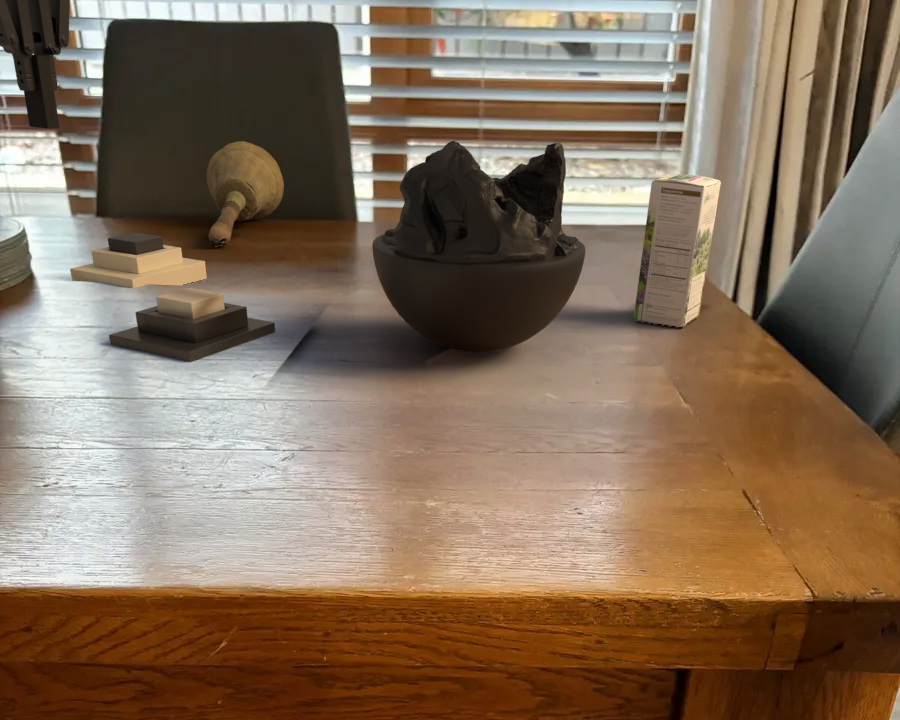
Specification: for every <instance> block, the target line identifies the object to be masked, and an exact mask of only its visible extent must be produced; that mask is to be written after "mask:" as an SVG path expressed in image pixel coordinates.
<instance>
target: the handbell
mask: <svg viewBox="0 0 900 720" xmlns="http://www.w3.org/2000/svg"><path fill="white" fill-rule="evenodd" d="M206 183H207V184H206V185H207V188H208V191H209V195H210V196H211V197H212V199H213V201H214V204H215V206H216V208H217V210H218V211H219V212H220V216H219V217H218V218H217V220H216V221H215V223H213V224H212V225H211V227H210V230H209V232H208V240H209V243H210V245H212V246H213V247H214V246H220V245H226V246H227V245H228V243H229V242H230V240H231V239H232V232H233V227H234V223H235V222H236V221H237V222H245V221H256V220H261V219H265V218H267V217H268V216H270V215H271V214H272V213H273V212H274V211H275V210H276V209H277V208H278V207H279V205H280V203H281V202H282V199H283V196H284V190H285V185H284V184H285V182H284V177H283V175H282V172H281V168H280V166H279V164H278V163H277V161H276V159H275V158H274V157H273V156H272V155H271V154H270V153H269V152H268V151H266V150H265V149H264V148H263V147H261V146H258V145H256V144H253V143H252V142H248V141H243V140H241V141H240V140H239V141H234V142H230V143H227V145H224V146H223V147H222V148H220V149H219V150H218V151H216V152H215V153H214V154H213V155H212V156H211V158H209V162H208V165H207V169H206Z"/></svg>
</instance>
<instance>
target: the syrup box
mask: <svg viewBox="0 0 900 720" xmlns="http://www.w3.org/2000/svg"><path fill="white" fill-rule="evenodd" d="M721 185H722V181H720V179H715V178H712V177H708V176H704V175H703V176H702V175H698V174H697V175H695V174H685V173H684V174H682V173H681V174H670V175H665V176H663V177H660V178H656V179H654V180H652V181H651V185H650V193H649V199H648V200H649V201H648V208H647V215H646V220H645V221H646V223H645V228H644V229H645V230H644V237H643V245H642V251H641V261H640V268H639V274H638V283H637V290H636V298H635V305H634V313H633V320H634V321H635V322H638V321H642V322H641V323H644V322H649V323H648V324H651V323H653V324H652V325H657V324H662V325H661V326H664V325H668V326H667V327H672V326H675V327H674V328H679V327H683V328H685V327H686V326H687V325H689V324H690V323H692V322H693V321H695V320H696V319H697V318H699V317H700V313H701V306H702V300H703V294H704V289H705V283H706V282H705V281H706V277H707V276H706V275H707V270H708V263H709V258H710V252H711V246H712V240H713V234H714V229H715V227H714V226H715V222H716V215H717V210H718V209H717V208H718V202H719V198H720V197H719V196H720V191H721ZM695 318H696V319H695ZM694 319H695V320H694ZM692 320H693V321H692ZM691 321H692V322H691ZM688 323H689V324H688ZM684 326H685V327H684Z"/></svg>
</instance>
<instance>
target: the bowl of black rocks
mask: <svg viewBox="0 0 900 720" xmlns="http://www.w3.org/2000/svg"><path fill="white" fill-rule="evenodd" d="M566 163H567V162H566V156H565V150H564V145H563V144H562V143H561V142H554V143H550V144H546V147H545V150H544V153H542V154H539V155H537V156H534V157H530V158H529V160H528V162H527V163H526V164H525V163H523V162H521V163H519V164H518V165H517V166H516V167H514V168H513V169H512V170H510V172H509V173H508V174H506V175H504V177H501V178H499V177H492V176H489V174H487V173H486V172H485V171H484V170H482V169H481V165H480V164H479V163H478V162H477V160H476V159H475V157H474V155H473V154H472V152H470V150H469V149H468V148H466V147H465V146H464V145H462V144H461V143H460V142H458V141H456V140H450V141H448V142H447V143H446V144H445V145H444V146H443V147H442V148H441V149H438V150H436V151H434V152H431V153H430V154H429V155H427V156H426V157H425V160H424V162H420V163H418V164H416V165H414V166H412V167H411V168H409V169H408V170H407V171H406V172H405V174H404V176H403V177H402V179H401V183H400V185H399V191H400V193H401V195H402V197H403V206H402V208H401V212H400V214H399V220H398V223H397V224H396V226H395V228H389V229H387V230H385V231H384V233H383V234H380V235H378V236H377V237H375V238H374V239H373V242H372V246H371V249H372V257H373V263H374V267H375V271H376V275H377V277H378V281H379V283H380V285H381V287H382V290H383V292H384V293H385V296H386V298H387V300H388V301H389V303H390V304H391V306H392V307H393V308H394V310H395V312H396V313H397V314H398V316H400V318H401V319H402V320H403V321H404V322H405V323H406V324H407V325H408V326H410V328H412V329H413V331H415V332H417V333H418V334H419V335H421V336H423V337H424V338H425V339H427V340H429V341H431V342H433V343H434V344H437V345H439V346H442V347H445V348H447V349H451V350H454V351H459V352H464V353H492V352H497V351H502V350H506V349H509V348H513V347H515V346H517V345H520V344H522V343H523V342H526V341H528V340H529V339H531V338H533V337H534V336H536V335H538V333H540V332H541V331H542V330H544V329H545V328H547V326H548V325H550V323H552V321H554V320H555V318H556V317H557V316H559V314H560V313H561V311H562V310H563V309H564V308H565V306H566V305H567V303H568V302H569V300H570V297H571V296H572V295H573V292H574V291H575V288H576V286H577V284H578V282H579V279H580V277H581V274H582V270H583V267H584V263H585V257H586V246H585V245H584V243H583V242H582V241H580V240H579V238H577V237H576V236H571V235H567V234H565V232H564V231H563V228H562V224H563V222H562V221H563V219H562V218H563V217H562V212H563V203H564V195H565V194H564V193H565V181H566V180H565V178H566V176H567V164H566Z"/></svg>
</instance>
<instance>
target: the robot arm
mask: <svg viewBox="0 0 900 720" xmlns="http://www.w3.org/2000/svg"><path fill="white" fill-rule="evenodd" d="M70 8H71V0H0V47H1V48H2V50H3V51H4V52H5V53H7V54H11V55H12V60H13V64H14V70H15V76H16V77H15V78H16V83H17V87H18V88H19V90H20V91H23V95H24V102H25V108H26V113H27V119H28V126H29V128H38V129H50V130H51V129H60V121H59V115H58V108H57V102H56V94H55V91H58V87H59V85H58V78H57V70H56V65H55V59H54V56H59V55H60V54H61V52H62V49H63V48H67V47H68V46H69V44H70V43H69V42H70Z"/></svg>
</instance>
